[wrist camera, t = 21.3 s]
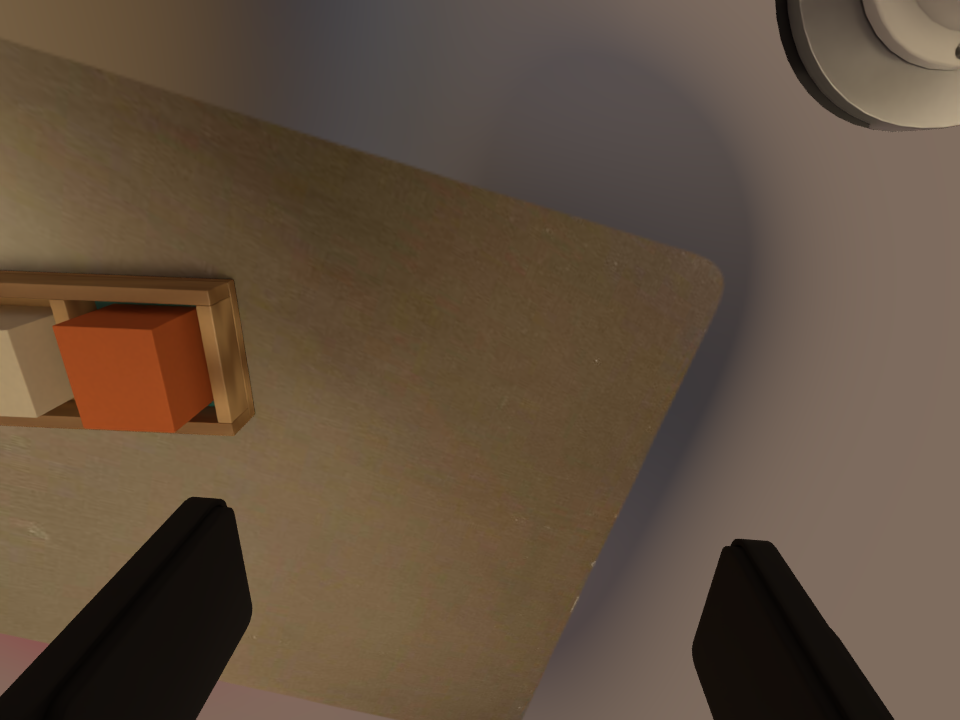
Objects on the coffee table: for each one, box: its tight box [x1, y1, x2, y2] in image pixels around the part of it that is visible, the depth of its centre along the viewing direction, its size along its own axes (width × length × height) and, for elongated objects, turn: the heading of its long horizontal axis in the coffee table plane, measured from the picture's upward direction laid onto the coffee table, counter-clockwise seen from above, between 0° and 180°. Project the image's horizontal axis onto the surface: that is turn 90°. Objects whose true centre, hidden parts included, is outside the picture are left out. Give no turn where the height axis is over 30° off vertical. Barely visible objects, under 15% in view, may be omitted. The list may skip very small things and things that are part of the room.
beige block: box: [0, 305, 74, 418], centre depth 33 cm, size 6×7×5 cm
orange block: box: [52, 304, 214, 433], centre depth 32 cm, size 7×6×5 cm
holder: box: [0, 270, 255, 436], centre depth 34 cm, size 10×20×3 cm, turn 88°
